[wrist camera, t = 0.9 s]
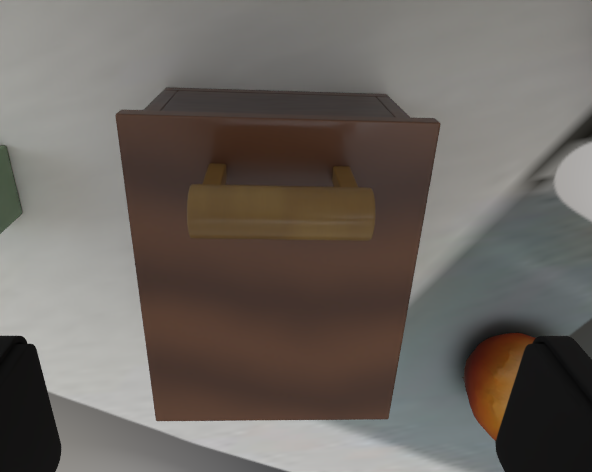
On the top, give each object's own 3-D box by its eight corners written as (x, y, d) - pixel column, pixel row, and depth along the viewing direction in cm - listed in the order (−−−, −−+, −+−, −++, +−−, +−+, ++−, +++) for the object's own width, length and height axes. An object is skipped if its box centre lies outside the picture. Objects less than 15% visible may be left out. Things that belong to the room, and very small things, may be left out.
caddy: (165, 87, 27) (123, 128, 19) (387, 93, 28) (431, 136, 20) (184, 312, 34) (159, 409, 27) (360, 313, 35) (385, 407, 27)
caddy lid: (120, 109, 19) (67, 153, 14) (435, 118, 20) (490, 163, 15) (158, 410, 27) (133, 507, 22) (385, 408, 27) (410, 502, 22)
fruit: (424, 408, 38) (491, 449, 30) (456, 312, 39) (529, 328, 31) (506, 436, 40) (589, 482, 32) (535, 344, 41) (622, 367, 33)
